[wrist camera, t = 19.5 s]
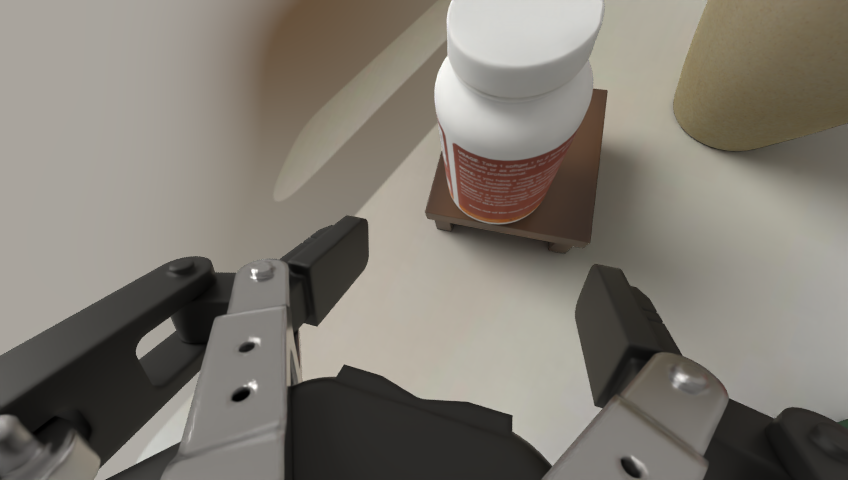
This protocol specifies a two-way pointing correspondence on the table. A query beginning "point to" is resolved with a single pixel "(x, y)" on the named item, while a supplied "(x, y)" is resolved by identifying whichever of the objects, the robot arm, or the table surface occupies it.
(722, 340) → the table surface
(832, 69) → the plant pot
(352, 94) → the table surface
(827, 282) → the table surface
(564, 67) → the pill bottle
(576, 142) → the small wooden stand
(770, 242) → the table surface
